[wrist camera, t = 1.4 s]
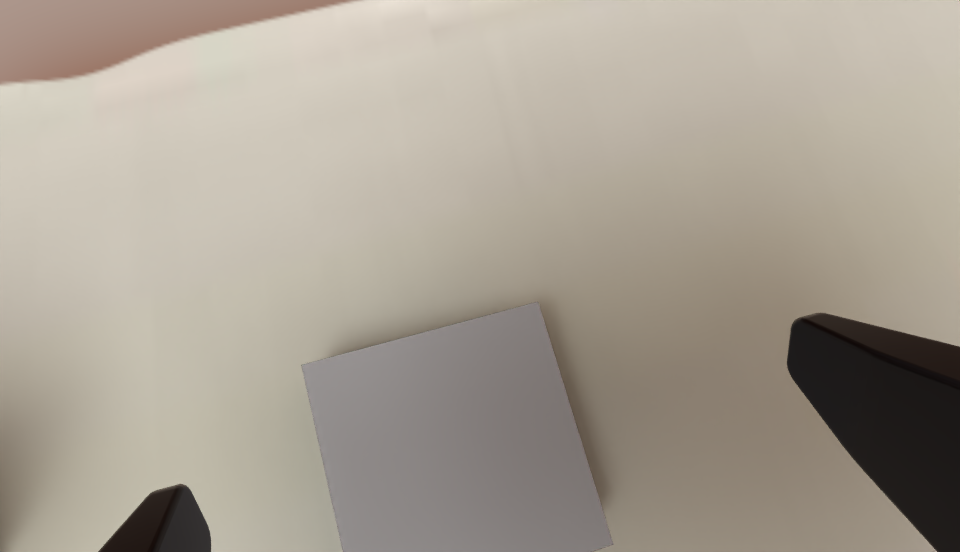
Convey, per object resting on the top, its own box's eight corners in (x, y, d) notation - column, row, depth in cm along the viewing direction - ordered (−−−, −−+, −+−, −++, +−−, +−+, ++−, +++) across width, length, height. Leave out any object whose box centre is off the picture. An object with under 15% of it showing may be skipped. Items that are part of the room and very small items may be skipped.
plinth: (587, 529, 22) (613, 544, 19) (368, 602, 21) (360, 630, 18) (523, 316, 24) (538, 301, 21) (316, 372, 22) (301, 364, 20)
